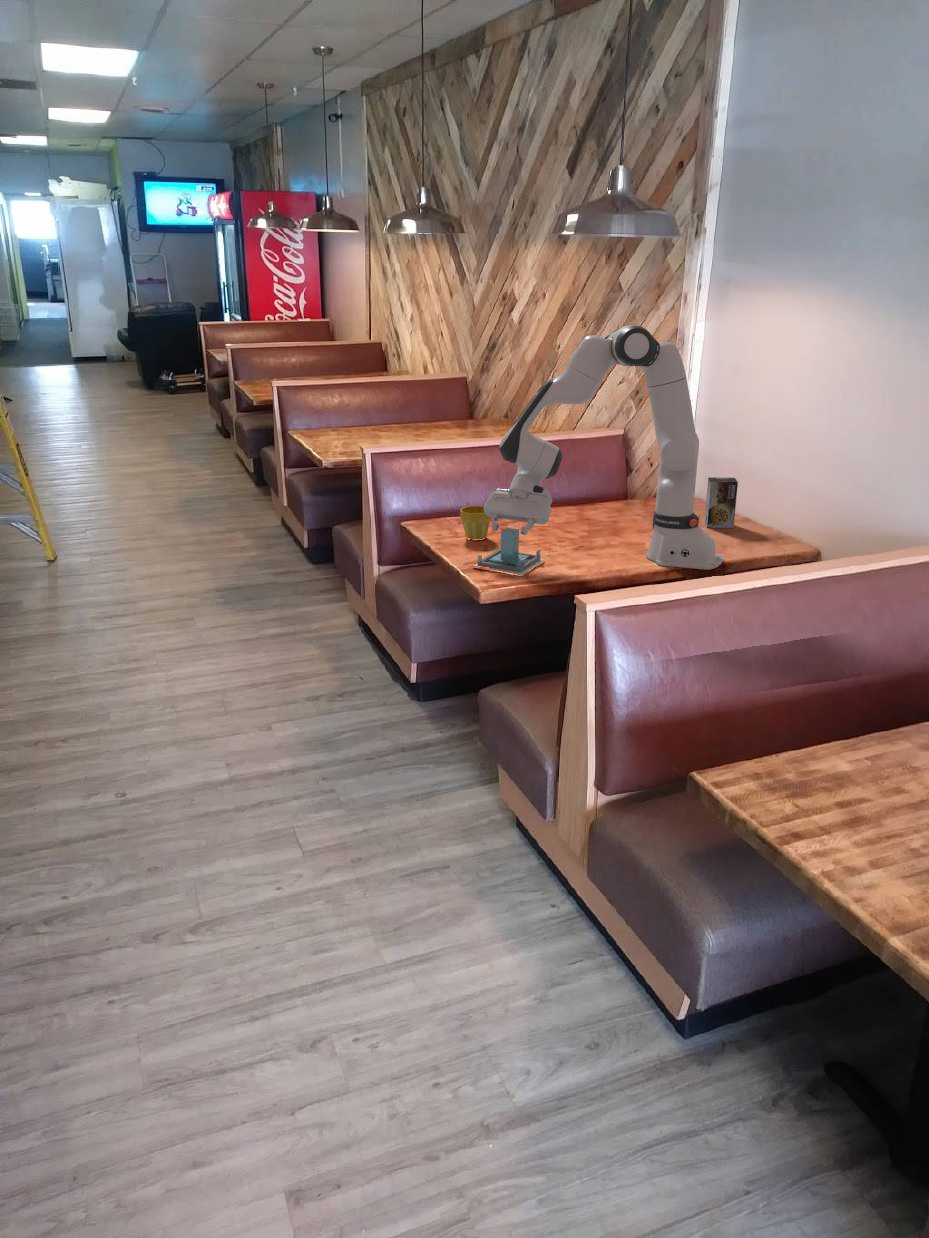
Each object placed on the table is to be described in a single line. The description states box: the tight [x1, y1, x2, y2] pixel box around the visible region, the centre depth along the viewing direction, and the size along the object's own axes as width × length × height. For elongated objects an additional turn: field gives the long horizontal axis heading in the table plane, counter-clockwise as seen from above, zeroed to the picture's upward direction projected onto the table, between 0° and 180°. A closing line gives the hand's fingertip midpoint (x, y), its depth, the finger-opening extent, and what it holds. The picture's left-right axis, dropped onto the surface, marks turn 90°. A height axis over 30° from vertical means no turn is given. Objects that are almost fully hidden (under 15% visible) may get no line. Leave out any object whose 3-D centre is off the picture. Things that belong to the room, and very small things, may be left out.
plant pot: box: [459, 505, 492, 539], centre depth 295 cm, size 10×10×10 cm
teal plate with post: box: [489, 527, 530, 567], centre depth 268 cm, size 9×9×10 cm
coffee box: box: [703, 477, 739, 529], centre depth 306 cm, size 9×6×16 cm
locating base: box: [473, 548, 546, 576], centre depth 270 cm, size 16×16×4 cm
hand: (508, 531), depth 266 cm, fingers open, 8 cm apart
